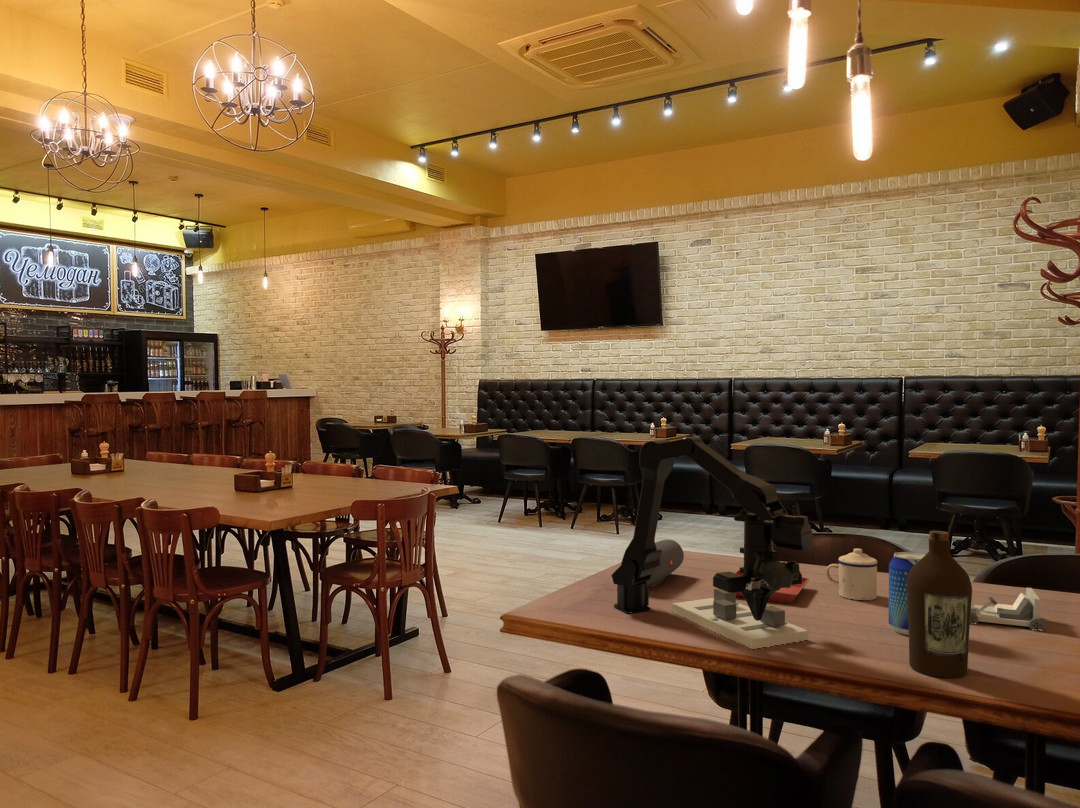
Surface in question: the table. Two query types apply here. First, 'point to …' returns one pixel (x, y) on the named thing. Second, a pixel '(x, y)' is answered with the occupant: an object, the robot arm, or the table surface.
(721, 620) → the switch board
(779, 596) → the plant saucer
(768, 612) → the dark grey block
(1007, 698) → the table surface
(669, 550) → the bluetooth speaker
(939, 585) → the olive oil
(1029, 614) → the toy car
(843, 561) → the teacup with lid
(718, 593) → the grey block
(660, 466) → the robot arm
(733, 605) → the dark grey box
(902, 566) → the beer can
